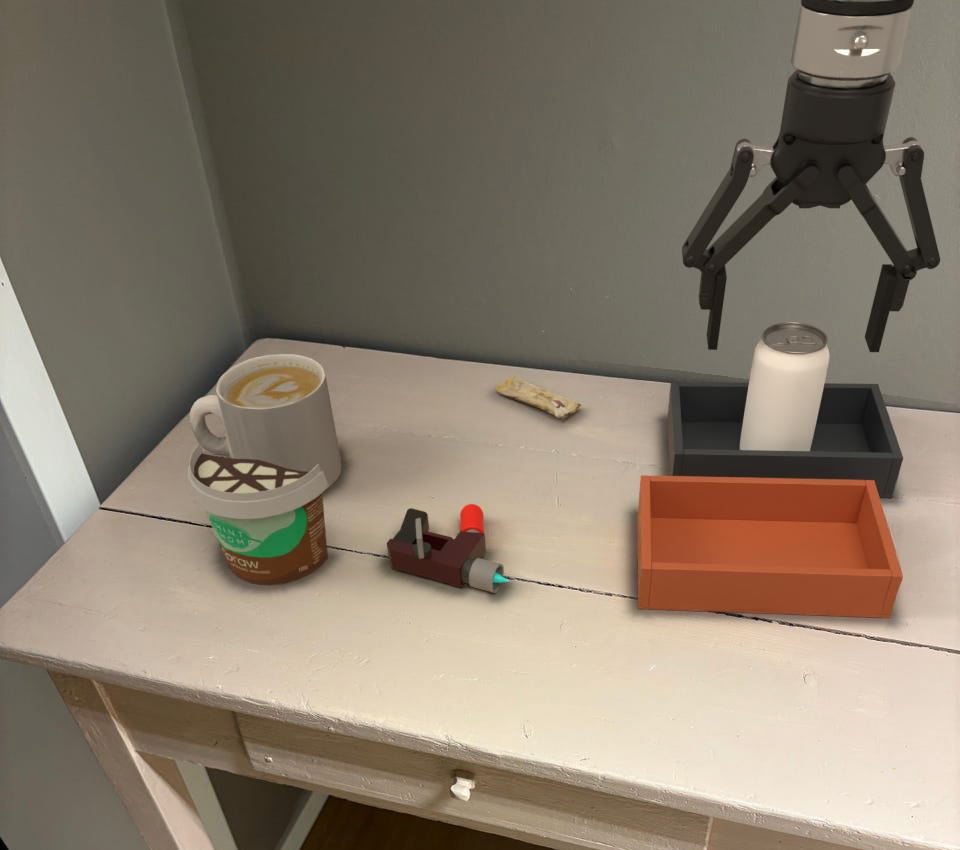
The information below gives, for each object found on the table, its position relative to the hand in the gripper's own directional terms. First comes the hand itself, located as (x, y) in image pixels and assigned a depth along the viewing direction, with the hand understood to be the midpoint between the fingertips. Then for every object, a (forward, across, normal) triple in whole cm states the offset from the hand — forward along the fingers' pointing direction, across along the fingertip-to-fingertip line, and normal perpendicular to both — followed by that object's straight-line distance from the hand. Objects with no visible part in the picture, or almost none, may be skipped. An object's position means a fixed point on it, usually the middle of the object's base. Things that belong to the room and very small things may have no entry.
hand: (790, 343), depth 87 cm
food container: (+12, -45, -19) cm, 50 cm away
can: (+12, 0, 0) cm, 12 cm away
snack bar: (+12, -23, +9) cm, 27 cm away
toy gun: (+12, -28, -16) cm, 34 cm away
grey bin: (+12, 0, 0) cm, 12 cm away
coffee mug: (+12, -48, -4) cm, 49 cm away
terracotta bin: (+12, -3, -16) cm, 20 cm away
